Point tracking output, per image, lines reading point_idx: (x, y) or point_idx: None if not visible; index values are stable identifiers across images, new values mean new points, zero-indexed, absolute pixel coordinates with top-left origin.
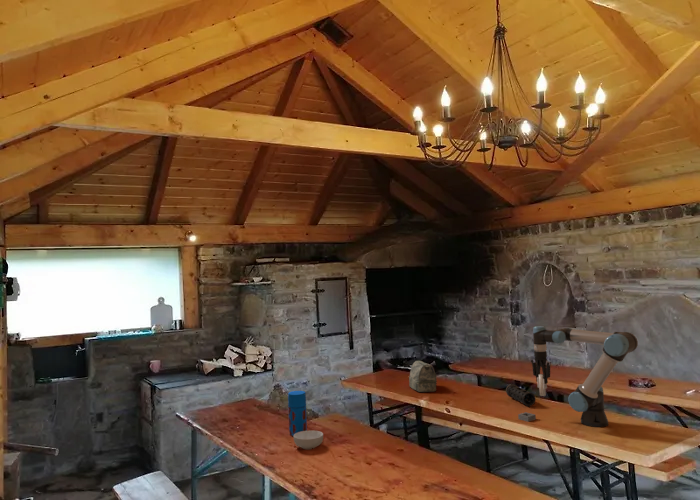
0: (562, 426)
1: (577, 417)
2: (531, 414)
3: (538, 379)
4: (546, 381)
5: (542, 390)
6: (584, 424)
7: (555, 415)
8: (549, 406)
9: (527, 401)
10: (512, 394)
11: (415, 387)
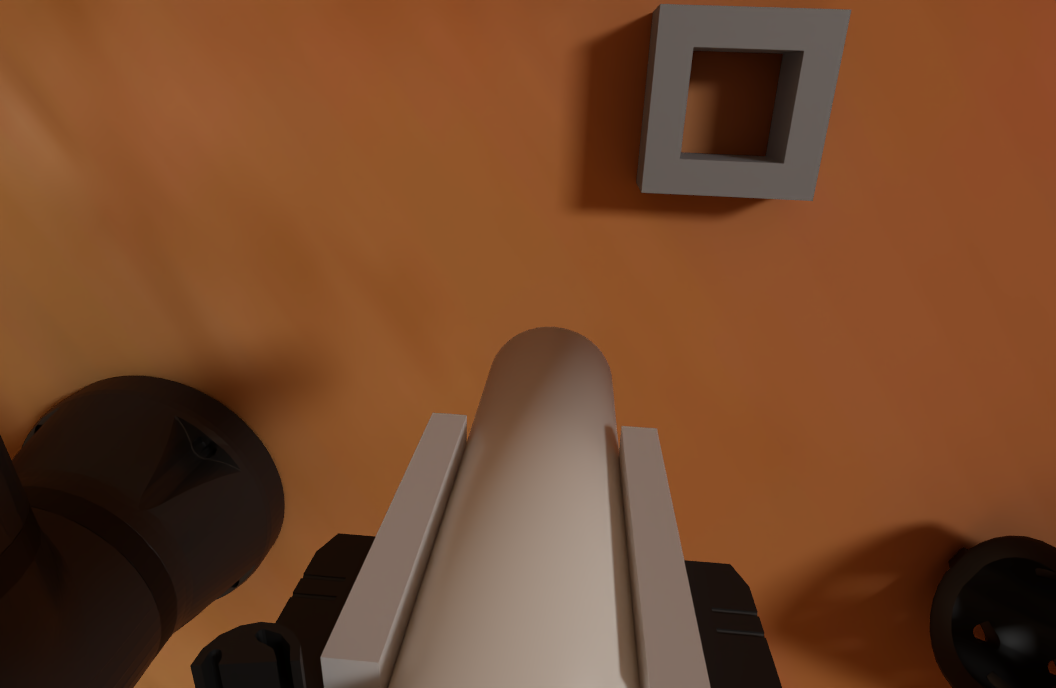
0: (260, 171)
1: None
2: (688, 159)
3: (638, 622)
4: (300, 605)
5: (497, 389)
6: (173, 382)
7: None
8: (785, 679)
9: (1039, 639)
10: None
11: None
